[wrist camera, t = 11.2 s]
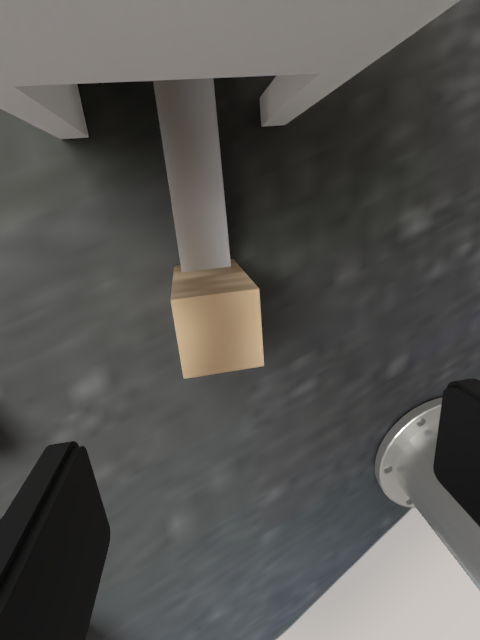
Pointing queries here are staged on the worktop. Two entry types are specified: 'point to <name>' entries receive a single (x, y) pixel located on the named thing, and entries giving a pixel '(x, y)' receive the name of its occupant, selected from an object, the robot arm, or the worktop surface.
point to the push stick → (204, 239)
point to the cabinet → (192, 48)
